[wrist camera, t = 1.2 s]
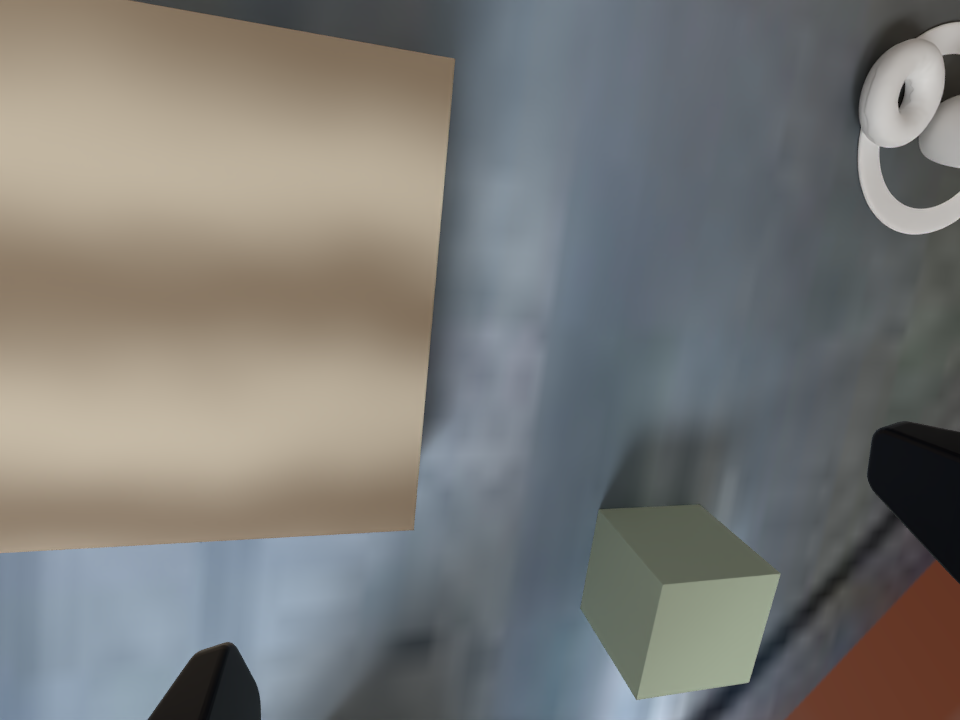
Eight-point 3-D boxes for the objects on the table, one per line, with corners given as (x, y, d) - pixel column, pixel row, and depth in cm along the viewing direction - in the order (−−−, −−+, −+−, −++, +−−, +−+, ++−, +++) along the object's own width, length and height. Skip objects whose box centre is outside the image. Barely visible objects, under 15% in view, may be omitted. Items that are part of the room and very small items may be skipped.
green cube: (675, 597, 27) (748, 682, 23) (579, 607, 26) (636, 699, 21) (698, 503, 26) (780, 573, 21) (597, 508, 25) (662, 584, 20)
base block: (401, 484, 22) (413, 530, 19) (-56, 499, 18) (-124, 559, 15) (433, 76, 18) (455, 58, 15) (-142, -21, 14) (-254, -69, 11)
